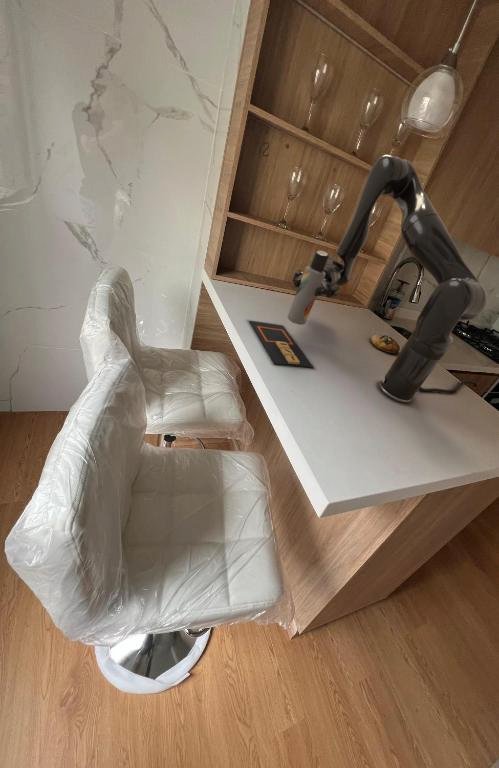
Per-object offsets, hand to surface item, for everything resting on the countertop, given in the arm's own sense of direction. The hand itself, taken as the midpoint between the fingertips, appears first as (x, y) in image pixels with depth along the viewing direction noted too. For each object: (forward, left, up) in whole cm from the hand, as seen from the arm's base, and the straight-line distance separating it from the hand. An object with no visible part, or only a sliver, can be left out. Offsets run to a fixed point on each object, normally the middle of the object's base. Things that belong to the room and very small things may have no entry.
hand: (306, 287), depth 89 cm
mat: (+2, -1, -18) cm, 18 cm away
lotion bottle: (-2, -1, -11) cm, 11 cm away
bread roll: (-44, +11, -18) cm, 49 cm away
